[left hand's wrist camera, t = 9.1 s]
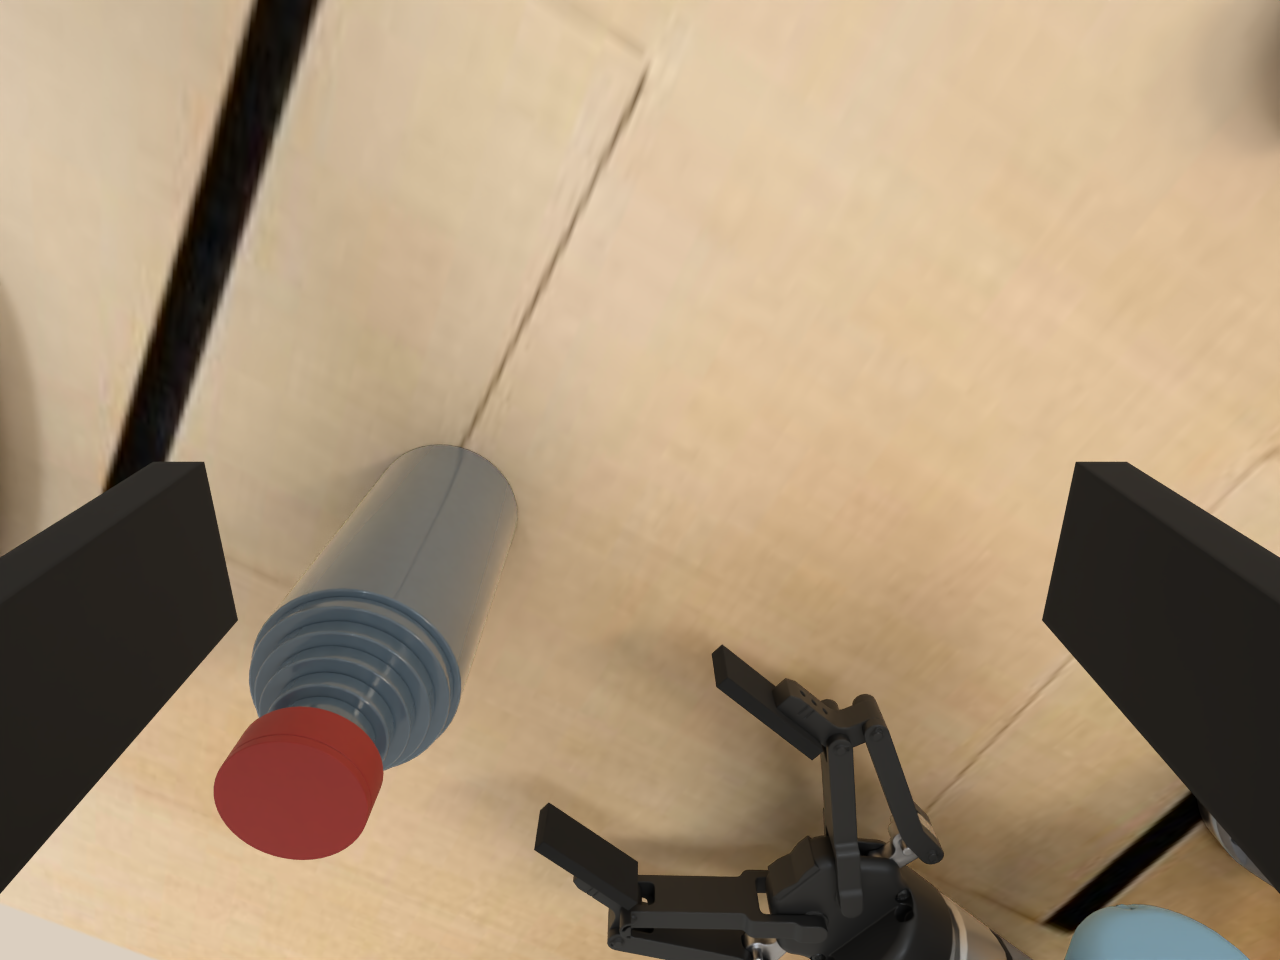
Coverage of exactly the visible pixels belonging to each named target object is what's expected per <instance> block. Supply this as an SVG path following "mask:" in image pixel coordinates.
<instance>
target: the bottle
mask: <svg viewBox="0 0 1280 960" xmlns="http://www.w3.org/2000/svg"><path fill="white" fill-rule="evenodd" d="M516 525H517V505H516V500H515V497H514V494H513V491H512V489H511V487H510V485H509V483H508V482H507V480H506V478H505V477H504V476H503V475H502V473H501V472H500V471H499V470H498V469H497V468H496V467H495V466H494V465H493V464H492V463H490V462H489V461H488V460H486V459H485V458H483V457H482V456H480V455H478V454H476V453H474V452H472V451H470V450H467V449H464V448H461V447H456V446H451V445H429V446H424V447H420V448H417V449H414V450H411V451H409V452H407V453H405V454H403V455H402V456H400V457H399V458H397V459H396V460H395V461H394V462H393V463H392V464H391V465H390V466H389V467H388V468H387V470H386V471H385V472H384V473H383V475H382V476H381V477H380V478H379V480H378V481H377V482H376V483H375V485H374V486H373V487H372V489H371V490H370V491H369V492H368V494H367V495H366V496H365V497H364V499H363V500H362V501H361V502H360V504H359V505H358V506H357V507H356V509H355V510H354V511H353V512H352V514H351V515H350V516H349V518H348V519H347V520H346V521H345V523H344V524H343V525H342V526H341V528H340V529H339V530H338V531H337V533H336V534H335V535H334V536H333V538H332V539H331V540H330V542H329V543H328V544H327V545H326V547H325V548H324V549H323V550H322V552H321V553H320V554H319V555H318V557H317V558H316V559H315V560H314V562H313V563H312V564H311V566H310V567H309V568H308V569H307V571H306V572H305V573H304V574H303V576H302V577H301V578H300V579H299V581H298V582H297V583H296V584H295V586H294V587H293V588H292V590H291V591H290V592H289V593H288V595H287V596H286V597H285V598H284V600H283V601H282V602H281V603H280V605H279V606H278V607H277V608H276V610H275V611H274V612H273V613H272V615H271V616H270V617H269V619H268V620H267V621H266V622H265V624H264V625H263V627H262V628H261V630H260V632H259V634H258V636H257V638H256V641H255V644H254V647H253V653H252V660H251V665H250V670H249V685H250V692H251V696H252V699H253V703H254V705H255V707H256V710H257V713H258V716H259V718H260V717H262V716H263V715H265V714H267V713H270V712H272V711H275V710H278V709H282V708H288V707H300V706H301V707H313V708H319V709H323V710H327V711H330V712H333V713H336V714H338V715H340V716H342V717H344V718H346V719H348V720H350V721H351V722H353V723H354V724H356V725H357V726H358V727H360V728H361V729H362V730H363V731H364V732H365V733H366V734H367V735H368V736H369V737H370V739H371V740H372V741H373V743H374V744H375V746H376V748H377V749H378V751H379V754H380V756H381V760H382V764H383V771H384V770H387V769H389V768H392V767H395V766H398V765H400V764H403V763H405V762H408V761H410V760H411V759H413V758H415V757H417V756H418V755H420V754H421V753H422V752H423V751H425V750H426V749H427V748H428V747H429V746H430V745H431V744H432V743H433V742H434V741H435V740H436V739H437V738H438V737H439V736H440V735H441V734H442V733H443V732H444V731H445V730H446V729H447V727H448V726H449V725H450V723H451V722H452V720H453V718H454V716H455V714H456V712H457V709H458V706H459V703H460V700H461V696H462V693H463V690H464V687H465V684H466V681H467V678H468V675H469V672H470V669H471V666H472V663H473V659H474V656H475V653H476V650H477V647H478V644H479V641H480V638H481V635H482V632H483V629H484V626H485V622H486V619H487V616H488V613H489V610H490V607H491V604H492V601H493V598H494V595H495V592H496V589H497V585H498V582H499V579H500V576H501V573H502V570H503V567H504V564H505V561H506V558H507V555H508V552H509V548H510V545H511V542H512V539H513V536H514V533H515V530H516Z"/></svg>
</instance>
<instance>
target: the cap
mask: <svg viewBox="0 0 1280 960" xmlns="http://www.w3.org/2000/svg"><path fill="white" fill-rule="evenodd" d="M382 781H383V764H382V760H381V756H380V754H379V751H378V749H377V748H376V746H375V744H374V743H373V741H372V740H371V739H370V737H369V736H368V735H367V734H366V733H365V732H364V731H363V730H362V729H361V728H360V727H358V726H357V725H356V724H354V723H353V722H351V721H350V720H348V719H346V718H344V717H342V716H340V715H338V714H336V713H333V712H330V711H327V710H323V709H319V708H313V707H301V706H300V707H288V708H282V709H278V710H275V711H272V712H270V713H267V714H265V715H263V716H262V717H260V718H258V719H257V720H256V721H254V722H253V723H252V724H251V725H250V726H249V727H248V728H247V729H246V731H245V732H244V734H243V735H242V737H241V738H240V739H239V741H238V742H237V744H236V745H235V747H234V748H233V750H232V751H231V753H230V754H229V756H228V757H227V759H226V760H225V762H224V763H223V765H222V766H221V768H220V769H219V771H218V773H217V776H216V778H215V783H214V800H215V804H216V807H217V810H218V812H219V814H220V816H221V818H222V820H223V821H224V822H225V824H226V825H227V826H228V828H229V829H230V830H231V831H232V832H233V833H234V834H235V835H236V836H238V837H239V838H240V839H241V840H243V841H244V842H246V843H247V844H249V845H250V846H252V847H254V848H256V849H258V850H260V851H262V852H264V853H267V854H270V855H273V856H277V857H281V858H287V859H295V860H311V859H318V858H324V857H327V856H331V855H333V854H336V853H338V852H340V851H342V850H344V849H346V848H347V847H348V846H350V845H351V844H352V843H353V842H354V841H355V840H356V839H357V838H358V837H359V836H360V834H361V833H362V831H363V829H364V827H365V825H366V823H367V820H368V818H369V815H370V813H371V810H372V808H373V805H374V803H375V801H376V798H377V796H378V793H379V791H380V788H381V785H382Z"/></svg>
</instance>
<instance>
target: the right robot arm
mask: <svg viewBox="0 0 1280 960" xmlns="http://www.w3.org/2000/svg"><path fill="white" fill-rule="evenodd" d="M712 659H713V666H714V673H715V680H716V687H717V688H718V689H720V690H721V691H722V692H724V693H725V694H726V695H728V696H729V697H730V698H732V699H733V700H734V701H735V702H737V703H738V704H739V705H741V706H742V707H743V708H745V709H746V710H747V711H748V712H750V713H751V714H752V715H754V716H755V717H756V718H758V719H759V720H760V721H762V722H763V723H764V724H765V725H767V726H768V727H769V728H771V729H772V730H773V731H775V732H776V733H777V734H778V735H780V736H781V737H782V738H784V739H785V740H786V741H788V742H789V743H790V744H792V745H793V746H794V747H795V748H797V749H798V750H799V751H801V752H802V753H803V754H805V755H806V756H807V757H808V758H810V759H811V760H813V759H814V758H816V757H817V756H818V755H819V754H820V753H821V768H822V782H823V797H824V809H823V818H824V832H825V836H818V837H814V838H810V837H809V836H807V837H805V838H804V839H803V840H801V841H800V842H799V843H798V844H797V845H796V846H795V848H794V849H793V850H792V852H791V853H790V854H788V855H786V856H783V857H781V858H779V859H777V860H776V861H775V862H773V863H772V864H771V865H770V866H768V870H745V871H744V872H743V873H742V874H741V876H739V877H715V876H663V875H638V862H637V861H636V860H634V859H633V858H631V857H630V856H628V855H627V854H625V853H624V852H622V851H621V850H619V849H618V848H616V847H615V846H613V845H612V844H610V843H609V842H607V841H606V840H604V839H603V838H601V837H600V836H598V835H597V834H595V833H594V832H592V831H591V830H589V829H588V828H586V827H585V826H583V825H582V824H580V823H579V822H577V821H576V820H574V819H573V818H571V817H570V816H568V815H567V814H565V813H564V812H562V811H561V810H559V809H558V808H556V807H555V806H553V805H552V804H550V803H548V804H547V805H546V806H545V807H543V808H542V809H541V810H540V815H539V822H538V828H537V835H536V842H535V848H534V850H535V851H537V852H538V853H540V854H541V855H543V856H545V857H546V858H548V859H549V860H551V861H552V862H554V863H555V864H557V865H559V866H560V867H562V868H563V869H565V870H566V871H568V872H569V873H571V874H572V875H574V879H573V882H574V883H575V884H576V886H577V887H578V888H579V889H580V890H582V891H584V892H585V893H587V894H588V895H590V896H592V897H593V898H594V899H596V900H598V901H599V902H601V903H602V904H604V905H605V906H607V907H608V908H609V914H608V942H607V944H608V946H609V947H610V948H611V949H614V950H618V951H623V952H628V953H633V954H639V955H644V956H649V957H654V958H659V959H665V960H778V959H779V958H780V957H781V956H783V955H784V954H785V953H786V952H788V953H791V954H797V955H802V956H805V957H808V958H809V959H811V960H1032V959H1031V958H1030V957H1028V956H1027V955H1025V954H1024V953H1023V952H1021V951H1020V950H1019V949H1017V948H1016V947H1014V946H1013V945H1012V944H1010V943H1009V942H1007V941H1006V940H1005V939H1003V938H1002V937H1001V936H999V935H998V934H996V933H995V932H994V931H992V930H991V929H989V928H988V927H987V926H986V925H984V924H983V923H982V922H980V921H979V920H978V919H976V918H975V917H974V916H972V915H971V914H970V913H968V912H967V911H966V910H964V909H963V908H962V907H960V906H959V905H958V904H956V903H955V902H954V901H952V900H951V899H950V898H948V897H947V896H945V895H944V894H942V893H940V892H939V891H938V890H937V889H936V888H935V887H934V886H933V885H932V884H930V883H929V882H928V881H926V880H925V879H924V878H922V877H921V876H920V875H918V874H917V873H916V872H914V871H913V870H912V869H910V868H909V867H908V866H906V865H907V864H908V863H910V862H912V861H913V860H915V859H917V858H918V857H919V858H920V859H921V860H922V861H923V862H924V863H926V864H935V863H938V862H939V861H941V860H942V858H943V856H944V853H943V850H942V848H941V846H940V843H939V841H938V839H937V836H936V834H935V832H934V829H933V827H932V825H931V823H930V820H929V818H928V816H927V815H926V814H925V813H924V812H923V811H922V810H921V809H920V808H919V806H918V805H917V804H916V803H915V802H914V801H913V799H912V796H911V794H910V791H909V788H908V785H907V782H906V779H905V776H904V773H903V771H902V768H901V765H900V762H899V759H898V756H897V753H896V750H895V748H894V745H893V742H892V739H891V736H890V733H889V731H888V728H887V726H886V724H885V721H884V719H883V717H882V714H881V712H880V710H879V707H878V705H877V703H876V700H875V699H874V697H873V696H871V695H868V694H863V695H859V696H857V697H856V698H855V699H854V701H853V703H852V704H853V705H852V706H850V707H848V708H845V709H842V710H839V708H838V705H837V703H836V702H835V701H833V700H830V699H825V700H822V701H820V700H818V699H817V698H816V697H814V696H813V695H812V694H811V693H809V692H808V691H807V690H806V689H804V688H803V687H802V686H801V685H799V684H798V683H797V682H796V681H793V680H790V679H786V678H785V679H784V680H783V681H782V682H781V683H779V684H778V685H777V686H774V685H773V684H772V683H770V682H769V681H768V680H767V679H765V678H764V677H763V676H762V675H760V674H759V673H758V672H756V671H755V670H754V669H753V668H751V667H750V666H749V665H748V664H746V663H745V662H744V661H743V660H741V659H740V658H739V657H737V656H736V655H735V654H734V653H732V652H731V651H730V650H729V649H727V648H726V647H725V646H723V645H721V646H720V647H719V648H718V649H717V650H716V651H714V652H713V653H712ZM865 742H866V745H867V748H868V750H869V753H870V756H871V759H872V761H873V764H874V767H875V770H876V772H877V775H878V778H879V781H880V783H881V786H882V789H883V792H884V795H885V797H886V800H887V802H888V805H889V808H890V810H891V813H892V816H891V817H890V821H891V823H890V825H889V827H888V832H889V834H890V837H891V838H890V841H889V842H888V843H887V844H886V843H885V842H883V841H880V840H874V839H862V838H857V823H856V803H855V783H854V763H853V747H855V746H858V745H860V744H863V743H865ZM1197 802H1198V807H1199V811H1200V814H1201V817H1202V819H1203V821H1204V823H1205V825H1206V826H1207V828H1208V829H1209V831H1210V832H1211V833H1212V834H1213V836H1214V837H1215V838H1216V839H1217V840H1218V842H1219V843H1220V844H1221V845H1222V846H1223V848H1224V849H1225V850H1226V851H1227V852H1228V853H1229V855H1230V856H1231V857H1232V858H1233V859H1234V860H1235V861H1236V862H1238V863H1239V864H1240V865H1242V866H1243V867H1245V868H1246V869H1247V870H1249V871H1250V872H1251V873H1253V874H1254V875H1256V876H1257V877H1259V878H1260V879H1262V880H1263V881H1265V882H1267V883H1268V884H1270V885H1271V886H1273V885H1272V884H1271V883H1270V882H1269V881H1268V880H1267V878H1266V877H1265V876H1264V875H1263V874H1262V873H1261V872H1260V870H1259V869H1258V868H1257V867H1256V866H1255V865H1254V863H1253V862H1252V861H1251V860H1250V859H1249V858H1248V857H1247V855H1246V854H1245V853H1244V852H1243V851H1242V850H1241V848H1240V847H1239V846H1238V845H1237V844H1236V843H1235V842H1234V840H1233V839H1232V838H1231V837H1230V836H1229V835H1228V834H1227V832H1226V831H1225V830H1224V829H1223V828H1222V827H1221V825H1220V824H1219V823H1218V822H1217V821H1216V820H1215V819H1214V817H1213V816H1212V815H1211V814H1210V813H1209V812H1208V811H1207V809H1206V808H1205V807H1204V806H1203V805H1202V804H1201V802H1200V801H1199V800H1198V799H1197ZM1273 887H1274V886H1273ZM757 893H766V894H767V900H768V905H769V910H770V914H763V913H762V912H761V911H760V909H759V902H758V896H757ZM642 897H643V898H645V899H647V902H648V903H646V902H642ZM1064 960H1249V959H1248V958H1247V957H1246V956H1245V955H1244V954H1243V953H1242V952H1241V951H1240V950H1239V949H1238V948H1236V947H1235V946H1234V945H1232V944H1231V943H1230V942H1228V941H1227V940H1226V939H1225V938H1223V937H1222V936H1221V935H1219V934H1218V933H1217V932H1215V931H1213V930H1212V929H1210V928H1208V927H1207V926H1205V925H1203V924H1201V923H1199V922H1197V921H1196V920H1194V919H1192V918H1189V917H1187V916H1184V915H1182V914H1180V913H1177V912H1174V911H1171V910H1168V909H1164V908H1160V907H1156V906H1150V905H1141V904H1132V905H1123V904H1121V905H1117V906H1109V907H1106V908H1103V909H1100V910H1098V911H1096V912H1093V913H1092V914H1091V915H1089V916H1088V917H1086V918H1085V919H1084V921H1083V922H1082V923H1081V924H1080V925H1079V926H1078V927H1077V929H1076V931H1075V933H1074V934H1073V936H1072V940H1071V943H1070V946H1069V948H1068V951H1067V954H1066V957H1065V959H1064Z"/></svg>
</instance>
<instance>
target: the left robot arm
mask: <svg viewBox="0 0 1280 960" xmlns="http://www.w3.org/2000/svg"><path fill="white" fill-rule="evenodd" d="M237 621H238V618H237V614H236V609H235V604H234V600H233V595H232V590H231V586H230V581H229V576H228V572H227V567H226V562H225V557H224V553H223V548H222V543H221V539H220V534H219V529H218V525H217V520H216V515H215V511H214V506H213V501H212V496H211V492H210V487H209V482H208V478H207V473H206V468H205V464H204V462H152V463H151V464H149V465H147V466H146V467H144V468H143V469H141V470H140V471H138V472H136V473H135V474H133V475H132V476H130V477H128V478H127V479H125V480H124V481H122V482H120V483H119V484H117V485H116V486H114V487H112V488H111V489H109V490H108V491H106V492H104V493H103V494H101V495H100V496H98V497H96V498H95V499H93V500H92V501H90V502H88V503H87V504H85V505H84V506H82V507H80V508H79V509H77V510H76V511H74V512H72V513H71V514H69V515H68V516H66V517H64V518H63V519H61V520H60V521H58V522H56V523H55V524H53V525H52V526H50V527H48V528H47V529H45V530H44V531H42V532H40V533H39V534H37V535H36V536H34V537H32V538H31V539H29V540H28V541H26V542H24V543H23V544H21V545H20V546H18V547H16V548H15V549H13V550H12V551H10V552H8V553H7V554H5V555H4V556H2V557H0V893H1V892H2V891H3V890H4V889H5V888H6V886H7V885H8V884H9V883H10V882H11V881H12V880H13V878H14V877H15V876H16V875H17V874H18V873H19V872H20V870H21V869H22V868H23V867H24V866H25V865H26V863H27V862H28V861H29V860H30V859H31V858H32V857H33V855H34V854H35V853H36V852H37V851H38V850H39V848H40V847H41V846H42V845H43V844H44V843H45V842H46V840H47V839H48V838H49V837H50V836H51V835H52V834H53V832H54V831H55V830H56V829H57V828H58V827H59V825H60V824H61V823H62V822H63V821H64V820H65V819H66V817H67V816H68V815H69V814H70V813H71V812H72V811H73V809H74V808H75V807H76V806H77V805H78V804H79V802H80V801H81V800H82V799H83V798H84V797H85V796H86V794H87V793H88V792H89V791H90V790H91V789H92V788H93V786H94V785H95V784H96V783H97V782H98V781H99V779H100V778H101V777H102V776H103V775H104V774H105V773H106V771H107V770H108V769H109V768H110V767H111V766H112V764H113V763H114V762H115V761H116V760H117V759H118V758H119V756H120V755H121V754H122V753H123V752H124V751H125V750H126V748H127V747H128V746H129V745H130V744H131V743H132V741H133V740H134V739H135V738H136V737H137V736H138V735H139V733H140V732H141V731H142V730H143V729H144V728H145V727H146V725H147V724H148V723H149V722H150V721H151V720H152V718H153V717H154V716H155V715H156V714H157V713H158V712H159V710H160V709H161V708H162V707H163V706H164V705H165V703H166V702H167V701H168V700H169V699H170V698H171V697H172V695H173V694H174V693H175V692H176V691H177V690H178V689H179V687H180V686H181V685H182V684H183V683H184V682H185V680H186V679H187V678H188V677H189V676H190V675H191V674H192V672H193V671H194V670H195V669H196V668H197V667H198V666H199V664H200V663H201V662H202V661H203V660H204V659H205V657H206V656H207V655H208V654H209V653H210V652H211V651H212V649H213V648H214V647H215V646H216V645H217V644H218V642H219V641H220V640H221V639H222V638H223V637H224V636H225V634H226V633H227V632H228V631H229V630H230V629H231V628H232V626H233V625H234V624H235V623H236V622H237ZM1042 621H1043V622H1044V623H1045V624H1046V625H1047V626H1048V628H1049V629H1050V630H1051V631H1052V632H1053V633H1054V634H1055V636H1056V637H1057V638H1058V639H1059V640H1060V641H1061V642H1062V644H1063V645H1064V646H1065V647H1066V648H1067V649H1068V651H1069V652H1070V653H1071V654H1072V655H1073V656H1074V657H1075V659H1076V660H1077V661H1078V662H1079V663H1080V664H1081V666H1082V667H1083V668H1084V669H1085V670H1086V671H1087V672H1088V674H1089V675H1090V676H1091V677H1092V678H1093V679H1094V680H1095V682H1096V683H1097V684H1098V685H1099V686H1100V687H1101V689H1102V690H1103V691H1104V692H1105V693H1106V694H1107V695H1108V697H1109V698H1110V699H1111V700H1112V701H1113V702H1114V703H1115V705H1116V706H1117V707H1118V708H1119V709H1120V710H1121V712H1122V713H1123V714H1124V715H1125V716H1126V717H1127V718H1128V720H1129V721H1130V722H1131V723H1132V724H1133V725H1134V727H1135V728H1136V729H1137V730H1138V731H1139V732H1140V733H1141V735H1142V736H1143V737H1144V738H1145V739H1146V740H1147V741H1148V743H1149V744H1150V745H1151V746H1152V747H1153V748H1154V750H1155V751H1156V752H1157V753H1158V754H1159V755H1160V756H1161V758H1162V759H1163V760H1164V761H1165V762H1166V763H1167V764H1168V766H1169V767H1170V768H1171V769H1172V770H1173V771H1174V773H1175V774H1176V775H1177V776H1178V777H1179V778H1180V779H1181V781H1182V782H1183V783H1184V784H1185V785H1186V786H1187V787H1188V789H1189V790H1190V791H1191V792H1192V793H1193V794H1194V796H1195V797H1196V798H1197V799H1198V800H1199V801H1200V802H1201V804H1202V805H1203V806H1204V807H1205V808H1206V809H1207V811H1208V812H1209V813H1210V814H1211V815H1212V816H1213V817H1214V819H1215V820H1216V821H1217V822H1218V823H1219V824H1220V825H1221V827H1222V828H1223V829H1224V830H1225V831H1226V832H1227V834H1228V835H1229V836H1230V837H1231V838H1232V839H1233V840H1234V842H1235V843H1236V844H1237V845H1238V846H1239V847H1240V848H1241V850H1242V851H1243V852H1244V853H1245V854H1246V855H1247V857H1248V858H1249V859H1250V860H1251V861H1252V862H1253V863H1254V865H1255V866H1256V867H1257V868H1258V869H1259V870H1260V872H1261V873H1262V874H1263V875H1264V876H1265V877H1266V878H1267V880H1268V881H1269V882H1270V883H1271V884H1272V885H1273V886H1274V888H1275V889H1276V890H1277V891H1278V892H1279V893H1280V557H1278V556H1276V555H1275V554H1273V553H1272V552H1270V551H1268V550H1267V549H1265V548H1264V547H1262V546H1260V545H1259V544H1257V543H1256V542H1254V541H1252V540H1251V539H1249V538H1248V537H1246V536H1244V535H1243V534H1241V533H1240V532H1238V531H1236V530H1235V529H1233V528H1232V527H1230V526H1228V525H1227V524H1225V523H1224V522H1222V521H1220V520H1219V519H1217V518H1216V517H1214V516H1212V515H1211V514H1209V513H1208V512H1206V511H1204V510H1203V509H1201V508H1200V507H1198V506H1196V505H1195V504H1193V503H1192V502H1190V501H1188V500H1187V499H1185V498H1184V497H1182V496H1180V495H1179V494H1177V493H1176V492H1174V491H1172V490H1171V489H1169V488H1168V487H1166V486H1164V485H1163V484H1161V483H1160V482H1158V481H1156V480H1155V479H1153V478H1152V477H1150V476H1148V475H1147V474H1145V473H1144V472H1142V471H1140V470H1139V469H1137V468H1136V467H1134V466H1133V465H1131V464H1129V463H1128V462H1076V464H1075V468H1074V473H1073V478H1072V482H1071V487H1070V492H1069V496H1068V501H1067V506H1066V511H1065V515H1064V520H1063V525H1062V529H1061V534H1060V539H1059V543H1058V548H1057V553H1056V557H1055V562H1054V567H1053V572H1052V576H1051V581H1050V586H1049V590H1048V595H1047V600H1046V604H1045V609H1044V614H1043V618H1042Z"/></svg>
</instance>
